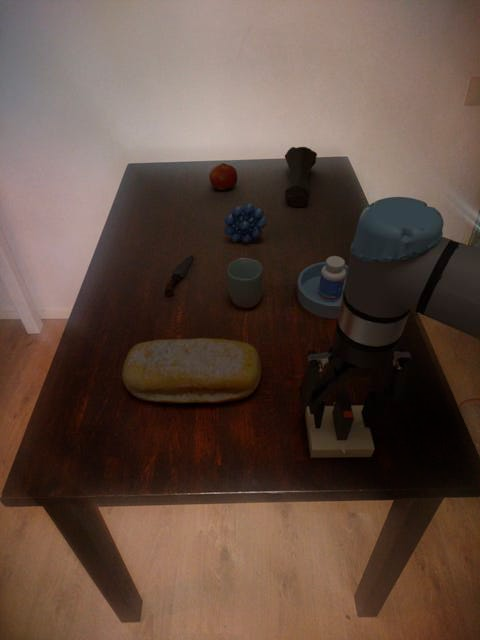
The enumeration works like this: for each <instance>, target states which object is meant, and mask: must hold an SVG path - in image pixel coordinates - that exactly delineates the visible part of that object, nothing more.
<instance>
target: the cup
mask: <svg viewBox="0 0 480 640" xmlns="http://www.w3.org/2000/svg"><path fill="white" fill-rule="evenodd" d="M226 274H227V275H226V276H227V277H226V278H227V286H228V287H227V288H228V292H229V297H230V299H231V301H232V303H233V304H234V305H235V306H236V307H239V308H242V309H252V308H255V306H257V305H258V304H259V302H260V301H261V298H262V294H263V287H264V268H263V265H262V263H261V262H260V261H259V260H257V259H254V258H250V257H240V258H237V259H234V260H233V261H231V262H230V263H229V265H228V267H227V270H226Z"/></svg>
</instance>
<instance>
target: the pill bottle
mask: <svg viewBox="0 0 480 640" xmlns="http://www.w3.org/2000/svg"><path fill="white" fill-rule="evenodd" d="M325 262H326V265H325V266H324V267H323V268H322V271H321V278H320V285H319V292H318V293H319V296H320V297H321V298H322V299H323V300H325V301H329V302H333V301H337V300H338V299H340V297H341V295H342V290H343V285H344V280H345V276H346V271H345V269H344V265H346V263H345V259H344V258H343V257H341V256H339V255H332V256H329V257H327V258H326V260H325Z"/></svg>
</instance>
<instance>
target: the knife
mask: <svg viewBox="0 0 480 640" xmlns="http://www.w3.org/2000/svg"><path fill="white" fill-rule="evenodd" d="M193 257H194V255H190V256H188V257H186V259H184V260H183V261H182V262H181V263H179V264H178V265H177V266H176V267H175V268H174V269H173V270H172V271H170V273H171V276H170V280H169V281H168V282H167V283H166V285H165V289H164V290H163V291H164V292H163V295H164V296H165V297H168V298H170V297H173V294H174V289H173V287H174V286H175V284H176V283H177V282H180V281H181V279H183V278H185V279H186V276H187V274H188V271H189V270H190V266H191V265H192V264H193Z"/></svg>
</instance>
